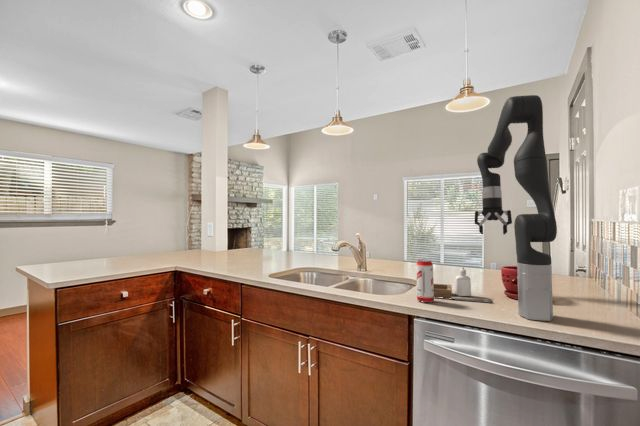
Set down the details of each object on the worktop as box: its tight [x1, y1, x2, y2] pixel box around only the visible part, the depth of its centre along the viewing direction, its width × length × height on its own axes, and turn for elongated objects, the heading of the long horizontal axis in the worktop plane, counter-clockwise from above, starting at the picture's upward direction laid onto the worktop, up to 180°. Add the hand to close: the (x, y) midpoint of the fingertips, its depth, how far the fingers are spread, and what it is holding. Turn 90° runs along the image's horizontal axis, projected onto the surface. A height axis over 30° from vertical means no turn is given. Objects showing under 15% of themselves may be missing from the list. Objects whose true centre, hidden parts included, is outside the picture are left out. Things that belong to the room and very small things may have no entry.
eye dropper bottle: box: [455, 266, 472, 297], centre depth 129 cm, size 4×6×12 cm
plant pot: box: [500, 265, 518, 300], centre depth 125 cm, size 13×13×12 cm
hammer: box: [434, 283, 494, 304], centre depth 127 cm, size 12×24×4 cm, turn 66°
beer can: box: [415, 258, 435, 303], centre depth 122 cm, size 6×6×16 cm
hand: (493, 234), depth 137 cm, fingers open, 8 cm apart
